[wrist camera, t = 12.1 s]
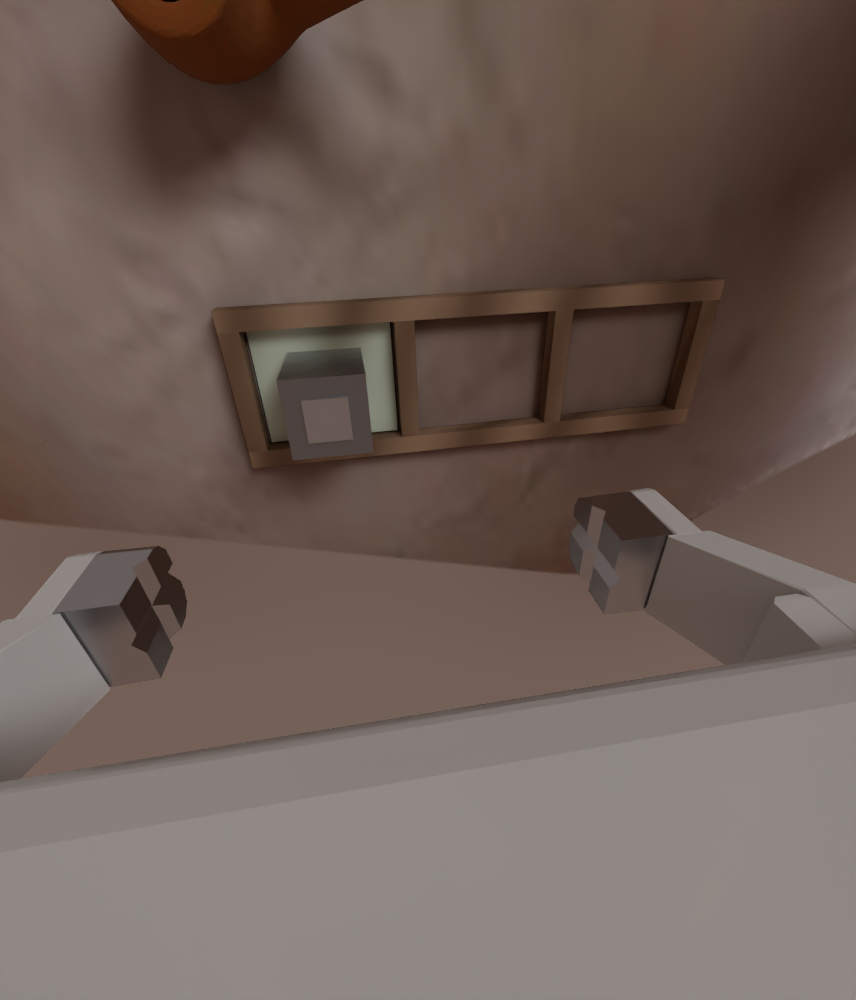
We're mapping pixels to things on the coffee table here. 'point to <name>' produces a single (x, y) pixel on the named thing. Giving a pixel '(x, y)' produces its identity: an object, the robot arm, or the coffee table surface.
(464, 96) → the coffee table surface
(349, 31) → the coffee table surface
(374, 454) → the divided wooden frame
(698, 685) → the robot arm
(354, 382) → the gray rectangular block
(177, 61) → the smoking pipe
